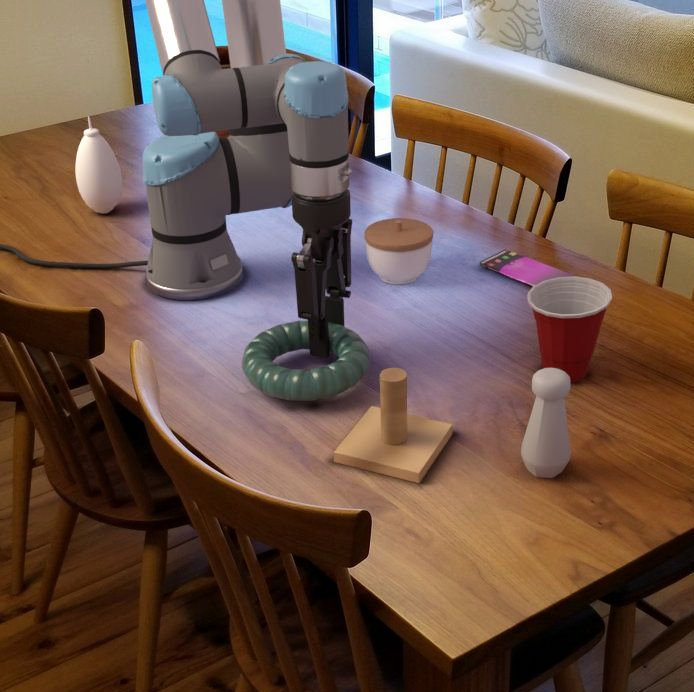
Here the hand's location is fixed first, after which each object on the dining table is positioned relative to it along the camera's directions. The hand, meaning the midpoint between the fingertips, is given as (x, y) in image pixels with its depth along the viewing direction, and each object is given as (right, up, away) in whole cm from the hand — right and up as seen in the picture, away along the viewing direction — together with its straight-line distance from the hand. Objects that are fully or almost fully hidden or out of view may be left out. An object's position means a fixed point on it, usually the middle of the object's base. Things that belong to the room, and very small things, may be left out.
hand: (327, 347), depth 149 cm
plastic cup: (+32, -4, -5) cm, 32 cm away
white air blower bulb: (-42, +27, +48) cm, 70 cm away
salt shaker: (+26, -16, -23) cm, 38 cm away
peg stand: (+9, -13, -18) cm, 24 cm away
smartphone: (+31, +12, +21) cm, 40 cm away
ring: (-3, -2, -6) cm, 7 cm away
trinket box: (+11, +12, +22) cm, 27 cm away
